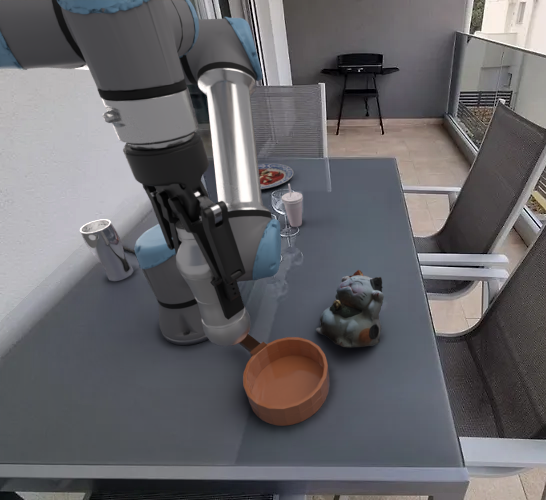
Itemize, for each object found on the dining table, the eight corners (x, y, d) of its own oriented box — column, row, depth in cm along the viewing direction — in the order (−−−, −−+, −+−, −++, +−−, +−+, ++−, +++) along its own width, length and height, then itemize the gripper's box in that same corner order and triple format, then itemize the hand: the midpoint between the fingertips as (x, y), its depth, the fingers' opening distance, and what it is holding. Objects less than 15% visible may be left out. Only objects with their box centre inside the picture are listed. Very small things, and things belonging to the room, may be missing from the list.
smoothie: (282, 227, 110) (274, 186, 102) (292, 217, 115) (286, 177, 107) (300, 230, 108) (294, 188, 100) (309, 220, 112) (304, 180, 104)
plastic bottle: (243, 355, 50) (204, 238, 38) (199, 349, 51) (149, 234, 39) (260, 321, 55) (230, 209, 43) (220, 317, 56) (180, 207, 44)
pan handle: (231, 343, 69) (227, 334, 67) (244, 333, 71) (241, 324, 69) (257, 365, 64) (254, 356, 63) (270, 353, 66) (268, 344, 65)
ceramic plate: (264, 164, 156) (262, 157, 154) (307, 175, 143) (306, 168, 141) (216, 185, 139) (214, 178, 137) (259, 200, 126) (258, 192, 124)
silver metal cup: (141, 269, 94) (118, 221, 86) (117, 285, 89) (90, 236, 81) (124, 263, 97) (99, 216, 88) (100, 278, 92) (72, 230, 83)
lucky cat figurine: (307, 324, 75) (317, 261, 73) (354, 322, 81) (365, 265, 79) (339, 357, 63) (353, 282, 61) (392, 352, 69) (406, 284, 67)
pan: (232, 392, 63) (226, 375, 60) (292, 342, 71) (288, 325, 69) (286, 444, 55) (281, 427, 52) (345, 380, 64) (344, 363, 61)
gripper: (84, 132, 38) (159, 290, 51) (178, 169, 28) (241, 352, 42) (150, 116, 43) (203, 264, 56) (251, 142, 33) (286, 315, 46)
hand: (219, 301), depth 49 cm, fingers closed on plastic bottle, 6 cm apart
